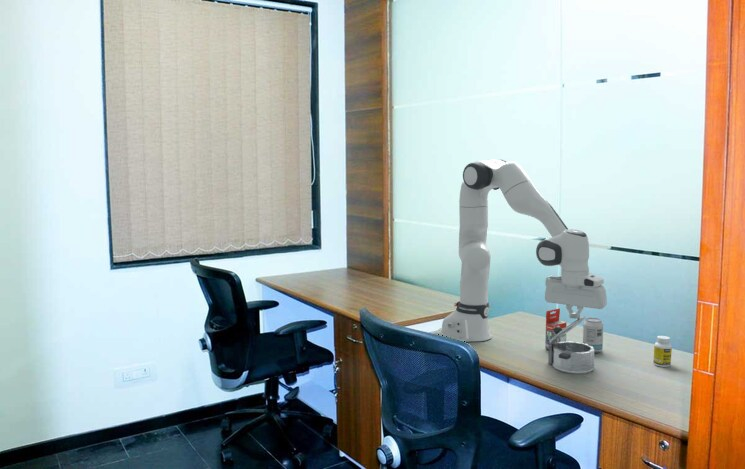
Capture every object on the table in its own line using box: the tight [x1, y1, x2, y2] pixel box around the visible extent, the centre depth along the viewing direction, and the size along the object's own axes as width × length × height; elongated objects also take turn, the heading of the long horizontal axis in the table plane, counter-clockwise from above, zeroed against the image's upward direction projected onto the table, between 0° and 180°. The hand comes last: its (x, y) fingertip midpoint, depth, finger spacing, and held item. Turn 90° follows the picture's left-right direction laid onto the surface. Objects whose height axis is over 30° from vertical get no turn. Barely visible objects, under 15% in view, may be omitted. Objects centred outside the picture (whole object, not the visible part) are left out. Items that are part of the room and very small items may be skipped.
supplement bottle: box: [652, 335, 673, 368], centre depth 205 cm, size 5×5×10 cm
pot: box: [547, 340, 595, 375], centre depth 205 cm, size 15×17×7 cm
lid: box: [549, 315, 586, 345], centre depth 205 cm, size 15×15×4 cm
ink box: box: [545, 308, 567, 351], centre depth 224 cm, size 4×8×15 cm, turn 123°
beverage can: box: [582, 317, 604, 354], centre depth 220 cm, size 7×7×12 cm
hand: (574, 318), depth 202 cm, fingers closed
